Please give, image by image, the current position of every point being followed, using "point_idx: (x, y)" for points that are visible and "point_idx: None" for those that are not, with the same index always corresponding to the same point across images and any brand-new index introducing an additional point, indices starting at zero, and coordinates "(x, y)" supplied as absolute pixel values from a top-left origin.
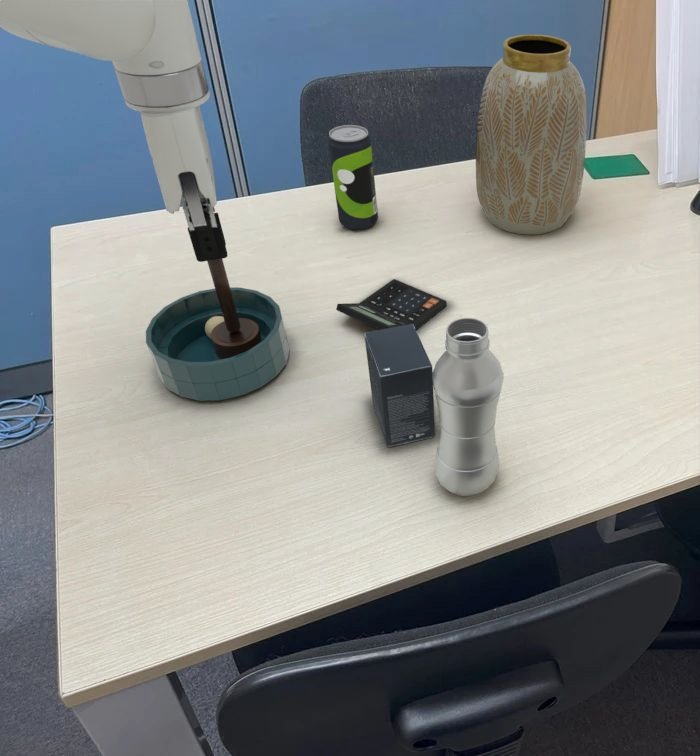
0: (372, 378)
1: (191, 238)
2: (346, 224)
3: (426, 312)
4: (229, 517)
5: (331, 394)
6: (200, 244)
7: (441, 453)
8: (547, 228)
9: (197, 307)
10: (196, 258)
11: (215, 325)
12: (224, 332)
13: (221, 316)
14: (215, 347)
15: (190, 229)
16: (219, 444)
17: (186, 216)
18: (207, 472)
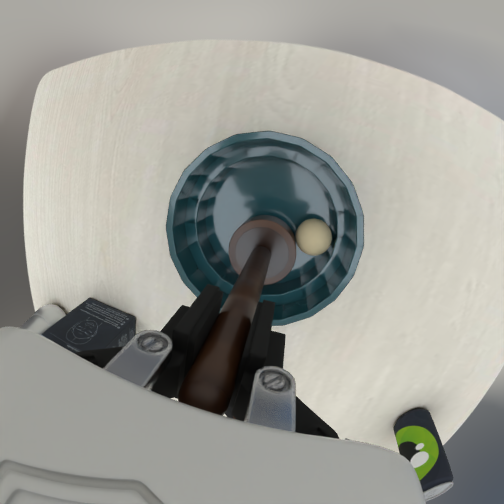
0: (92, 332)
1: (185, 316)
2: (411, 414)
3: (227, 411)
4: (75, 165)
5: (160, 294)
6: (169, 320)
7: (34, 318)
8: None
9: (351, 228)
10: (206, 285)
11: (303, 235)
12: (267, 240)
13: (321, 250)
14: (256, 218)
15: (136, 336)
16: (141, 174)
17: (110, 363)
18: (117, 156)
